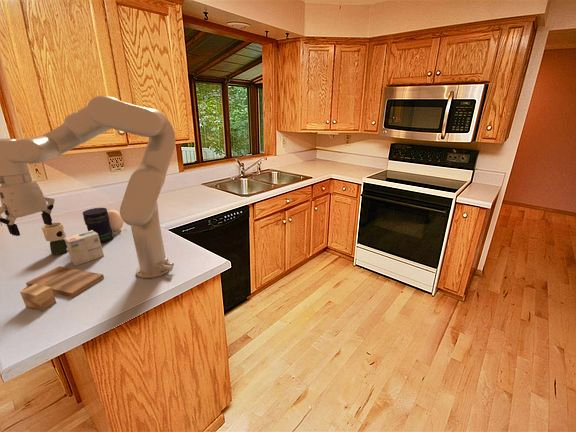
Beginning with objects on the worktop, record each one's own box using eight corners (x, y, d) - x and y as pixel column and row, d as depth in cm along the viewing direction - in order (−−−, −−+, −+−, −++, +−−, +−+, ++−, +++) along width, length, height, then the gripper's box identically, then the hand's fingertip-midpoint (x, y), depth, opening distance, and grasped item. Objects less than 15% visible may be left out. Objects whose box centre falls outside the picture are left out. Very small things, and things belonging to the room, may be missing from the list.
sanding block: (56, 302, 94) (51, 287, 92) (42, 311, 90) (35, 295, 88) (41, 299, 96) (35, 283, 94) (26, 307, 92) (19, 291, 90)
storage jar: (94, 246, 132) (85, 216, 127) (87, 240, 138) (79, 211, 133) (117, 239, 139) (110, 210, 134) (110, 234, 145) (103, 206, 140)
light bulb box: (98, 251, 127) (92, 229, 124) (104, 256, 123) (98, 233, 120) (70, 261, 120) (63, 237, 116) (75, 266, 116) (68, 241, 112)
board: (104, 278, 107) (103, 274, 106) (73, 297, 96) (72, 293, 96) (60, 269, 113) (59, 266, 113) (27, 286, 102) (25, 282, 102)
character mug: (62, 257, 123) (53, 229, 118) (44, 259, 122) (34, 230, 117) (75, 246, 133) (68, 220, 128) (58, 247, 132) (50, 221, 127)
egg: (123, 232, 147) (118, 211, 143) (105, 234, 145) (100, 213, 141) (126, 227, 154) (121, 206, 150) (109, 229, 152) (104, 208, 148)
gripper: (-12, 187, 82) (9, 241, 88) (53, 174, 97) (67, 222, 103) (-27, 185, 84) (-6, 238, 90) (38, 173, 99) (52, 219, 105)
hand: (33, 229), depth 96 cm, fingers open, 9 cm apart
